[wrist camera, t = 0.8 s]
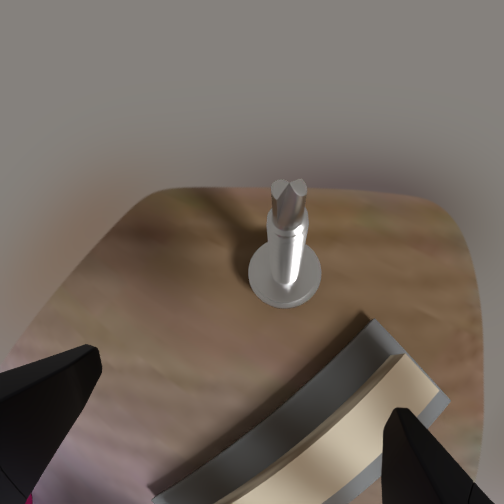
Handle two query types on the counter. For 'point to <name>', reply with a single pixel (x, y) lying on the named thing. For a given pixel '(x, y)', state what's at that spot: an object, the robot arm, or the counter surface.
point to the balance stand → (320, 432)
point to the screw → (286, 251)
